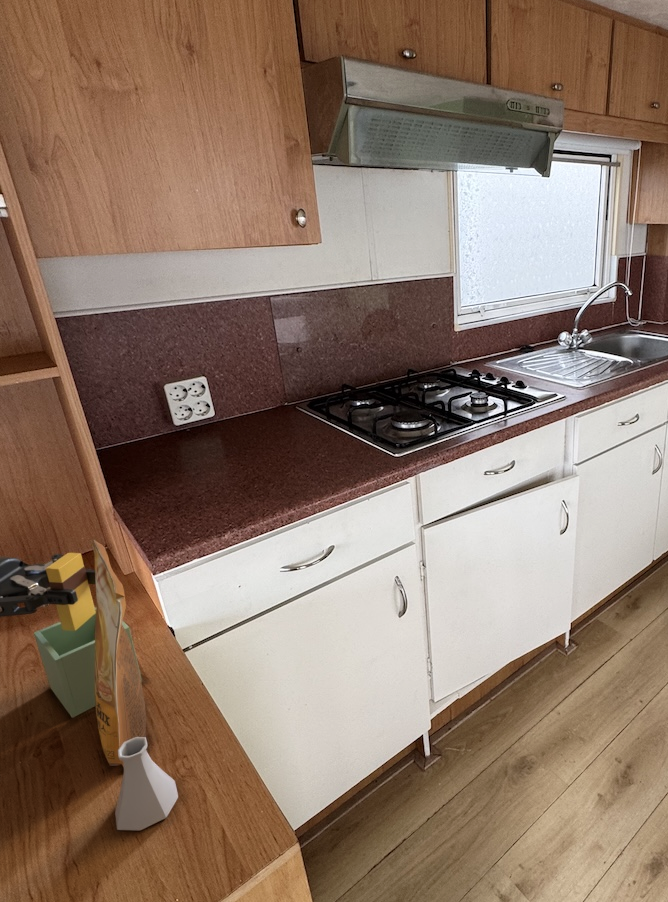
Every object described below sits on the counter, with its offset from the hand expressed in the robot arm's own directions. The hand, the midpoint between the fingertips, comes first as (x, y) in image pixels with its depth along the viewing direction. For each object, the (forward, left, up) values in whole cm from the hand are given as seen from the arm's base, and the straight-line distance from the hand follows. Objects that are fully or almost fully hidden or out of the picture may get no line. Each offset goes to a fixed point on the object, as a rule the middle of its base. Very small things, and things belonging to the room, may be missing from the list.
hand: (87, 587), depth 88 cm
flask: (-6, -27, -19) cm, 33 cm away
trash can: (-2, +2, -19) cm, 19 cm away
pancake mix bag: (-2, -12, -19) cm, 22 cm away
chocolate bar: (-2, +2, -6) cm, 7 cm away
